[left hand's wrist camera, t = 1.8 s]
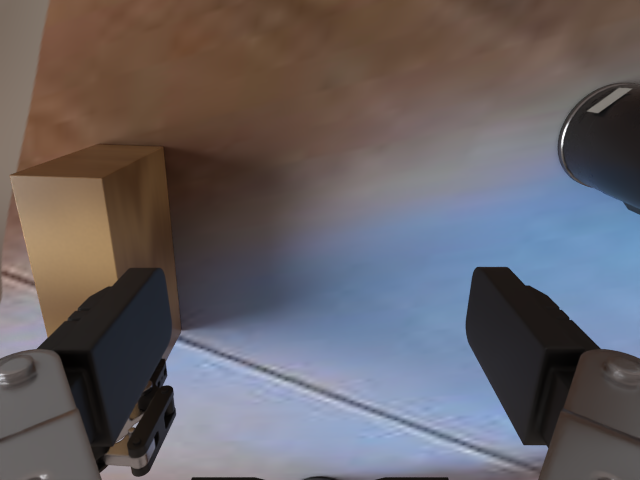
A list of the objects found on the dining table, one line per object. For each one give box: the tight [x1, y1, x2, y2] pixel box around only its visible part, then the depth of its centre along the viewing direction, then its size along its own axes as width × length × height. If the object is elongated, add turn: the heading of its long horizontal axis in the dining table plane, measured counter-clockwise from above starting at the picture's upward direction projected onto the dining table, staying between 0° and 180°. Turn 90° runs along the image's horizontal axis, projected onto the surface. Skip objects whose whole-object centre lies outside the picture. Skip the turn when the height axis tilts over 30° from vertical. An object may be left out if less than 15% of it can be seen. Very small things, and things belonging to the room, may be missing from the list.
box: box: [10, 144, 181, 406], centre depth 38 cm, size 20×6×12 cm, turn 178°
